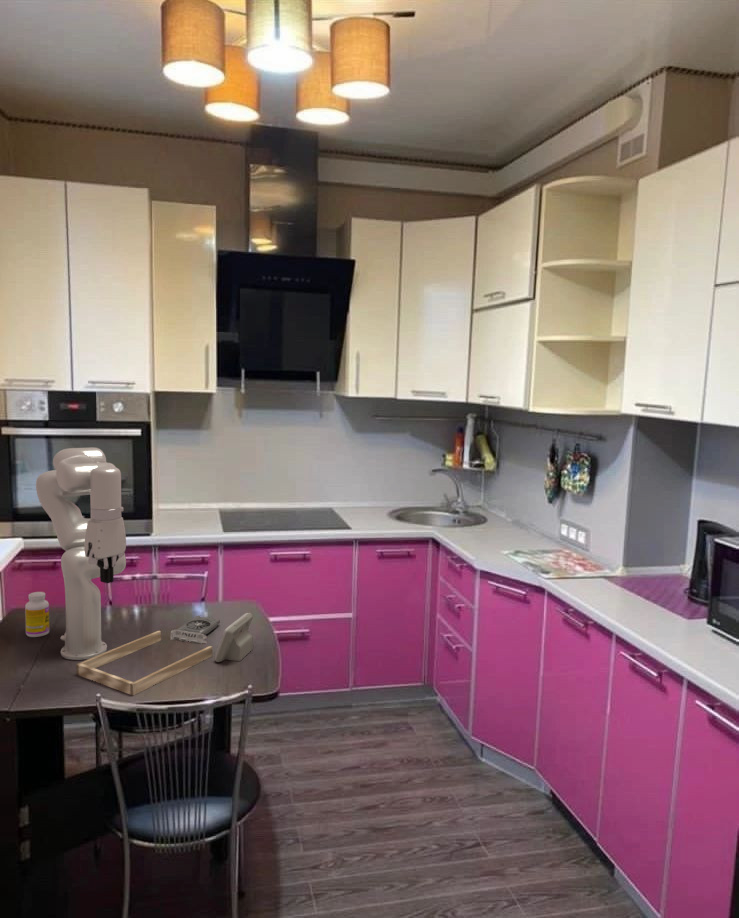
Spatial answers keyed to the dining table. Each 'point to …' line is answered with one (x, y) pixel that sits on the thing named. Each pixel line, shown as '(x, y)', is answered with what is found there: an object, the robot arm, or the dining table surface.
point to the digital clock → (236, 640)
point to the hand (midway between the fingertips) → (106, 581)
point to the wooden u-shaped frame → (132, 688)
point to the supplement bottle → (37, 615)
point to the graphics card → (195, 630)
